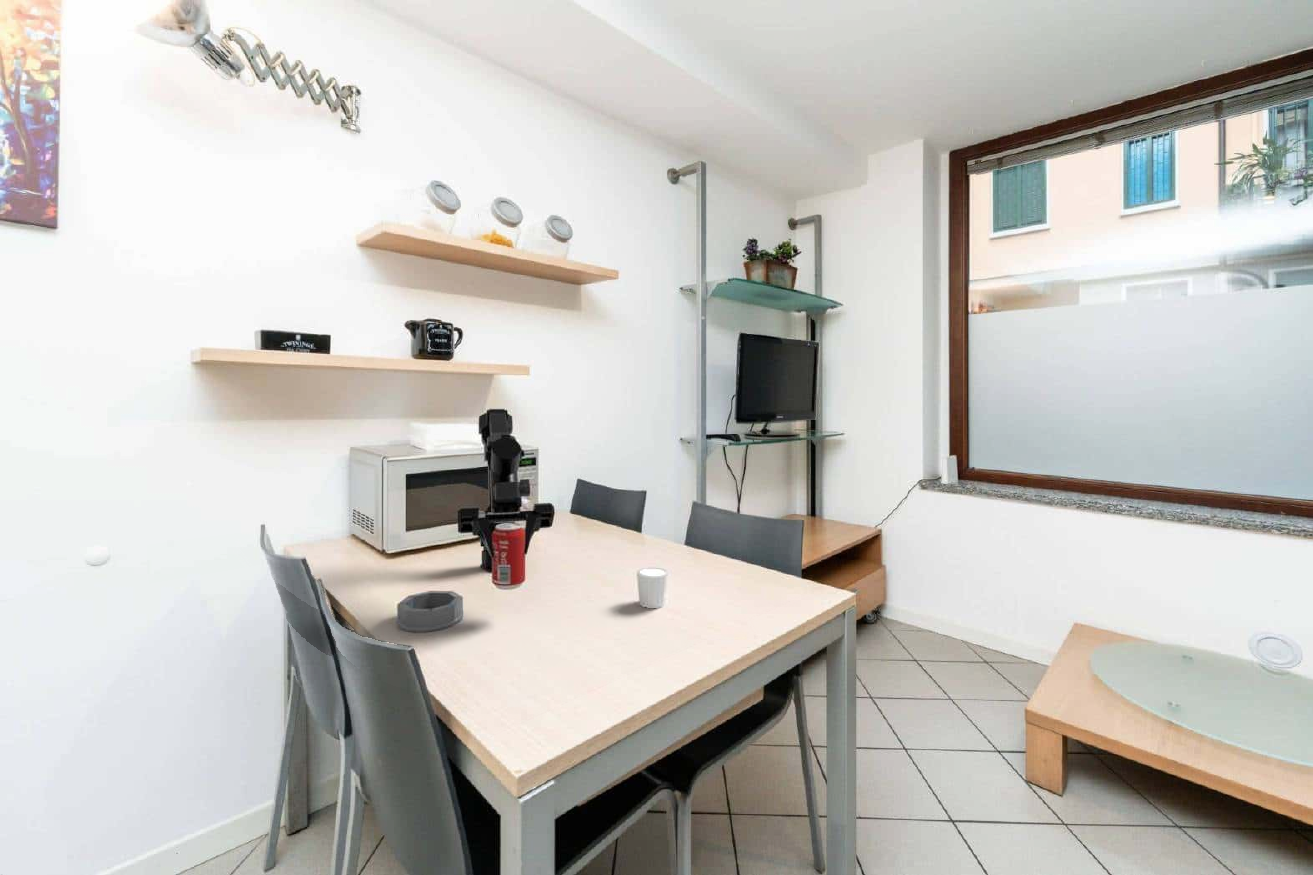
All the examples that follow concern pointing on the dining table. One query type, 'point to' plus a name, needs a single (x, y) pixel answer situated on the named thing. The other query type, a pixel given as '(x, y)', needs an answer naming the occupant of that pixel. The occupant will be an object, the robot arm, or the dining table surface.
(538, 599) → the dining table surface
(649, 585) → the white cup
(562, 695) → the dining table surface
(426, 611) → the cup holder
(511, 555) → the beverage can
